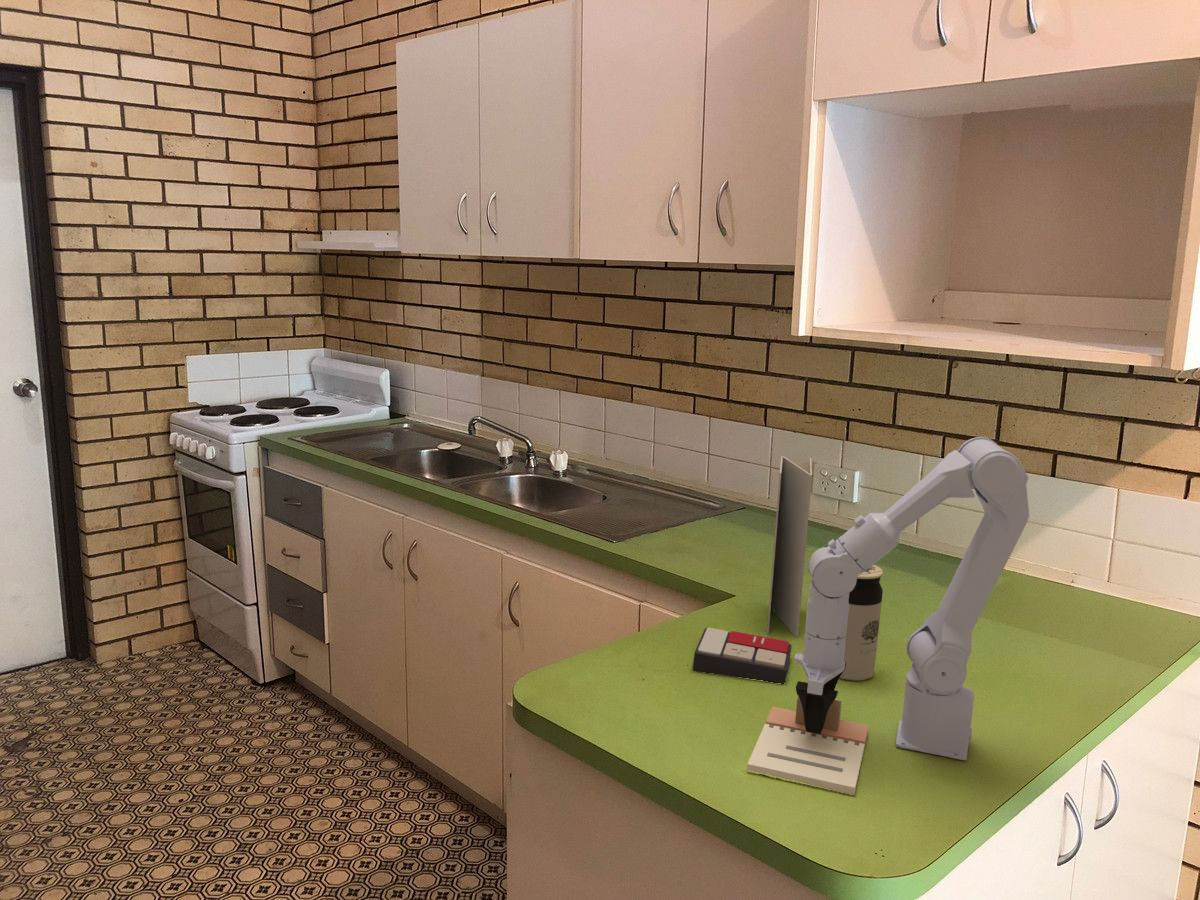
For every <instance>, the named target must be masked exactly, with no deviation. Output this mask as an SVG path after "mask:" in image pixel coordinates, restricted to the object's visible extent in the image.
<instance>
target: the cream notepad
mask: <svg viewBox="0 0 1200 900" xmlns="http://www.w3.org/2000/svg"><path fill="white" fill-rule="evenodd" d="M864 746H865V747H866V744H862V743H857V742H852V741H847V740H843V739H838V738H833V737H828V736H823V735H818V734H813V733H808V732H804V731H799V730H794V729H789V728H784V727H779V726H774V725H769V724H766V723H765V724H764V726H763V728H762V730H761V733H760V734H759V737H758V739H757V742H756V744H755V746H754V748H753V751H752V753H751V755H750V758H749V759H748V762H747V765H746V771H747V770H751V771H754V772H758V773H763V774H769V775H772V776H776V777H781V778H785V779H789V780H795V781H798V782H803V783H806V784H810V785H815V786H819V787H822V788H827V789H830V790H835V791H839V792H842V793H841V794H843V793H846V794H845V795H847V794H849V795H848V796H852V795H854V796H855V795H856V790H857V786H858V781H859V777H858V776H860V772H859V771H861V766H862V763H861V762H862V761H863V758H864V754H863V753H865V749H864ZM862 757H863V758H862ZM857 780H858V781H857ZM856 785H857V786H856ZM830 790H829V791H830ZM839 792H838V793H839Z"/></svg>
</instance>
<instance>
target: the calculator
mask: <svg viewBox="0 0 1200 900" xmlns="http://www.w3.org/2000/svg"><path fill="white" fill-rule="evenodd" d="M792 646H793V645H792V644H791V643H790V642H789V641H788V640H783V639H777V638H774V637H773V638H772V637H767V636H761V635H756V634H752V633H745V632H740V631H735V630H731V631H730V632H729V631H728V630H725V629H718V628H712V627H706V628H704V629H703V631H702V634H701V637H700V638H699V641H698V644H697V646H696V647H695V650H694V653H693V654H694V655H693V663H692V671H693V672H695V671H696V672H697V673H702V672H705V673H704V674H709V673H714V674H713V675H715V674H720V675H722V676H727V675H729V676H728V677H732V676H735V677H734V678H737V677H742V678H741V679H743V678H749V679H756V680H763V681H768V682H767V683H769V682H773V683H772V684H775V683H781V684H780V685H785V684H786V681H787V680H786V679H787V675H788V670H789V666H790V661H789V660H791V654H792V653H791V652H792V648H793V647H792ZM749 679H748V680H749ZM756 680H755V681H756ZM784 683H785V684H784Z"/></svg>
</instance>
